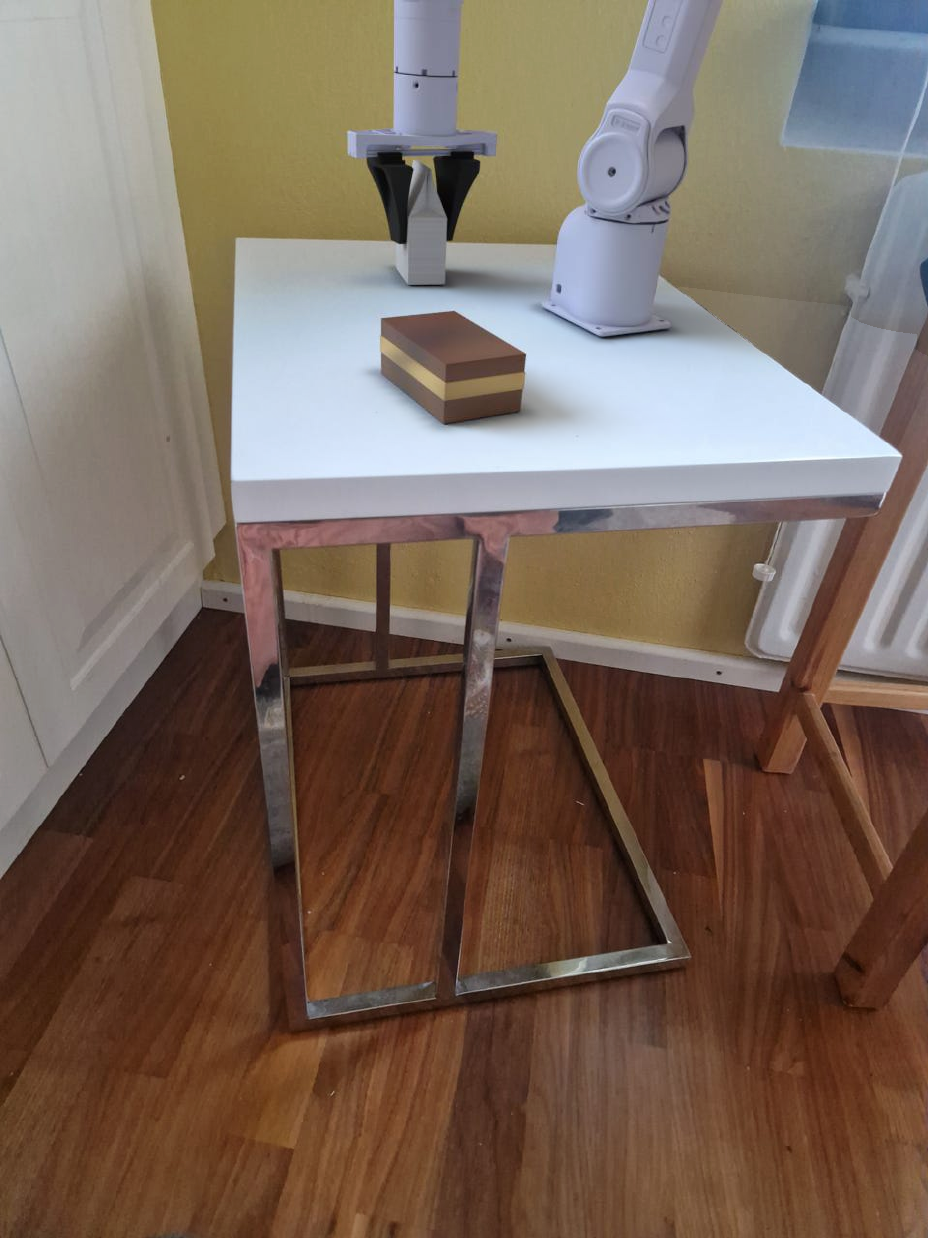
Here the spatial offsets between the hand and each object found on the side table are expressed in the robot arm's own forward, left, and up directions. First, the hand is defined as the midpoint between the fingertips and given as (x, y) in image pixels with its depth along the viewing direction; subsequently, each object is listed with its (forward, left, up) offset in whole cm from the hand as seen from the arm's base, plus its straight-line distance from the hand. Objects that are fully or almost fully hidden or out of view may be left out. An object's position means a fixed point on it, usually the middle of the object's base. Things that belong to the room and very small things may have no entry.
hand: (422, 240), depth 81 cm
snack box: (+28, -12, -4) cm, 30 cm away
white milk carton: (-1, 0, -4) cm, 4 cm away
